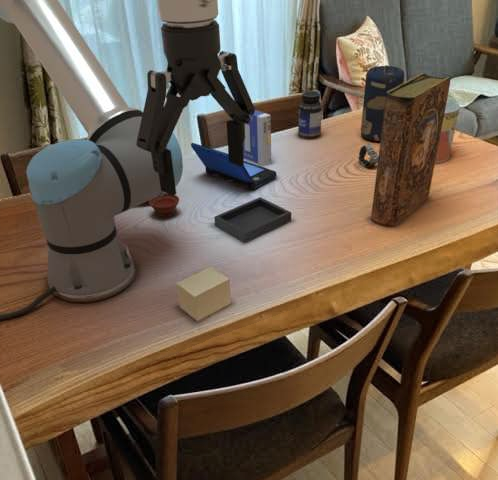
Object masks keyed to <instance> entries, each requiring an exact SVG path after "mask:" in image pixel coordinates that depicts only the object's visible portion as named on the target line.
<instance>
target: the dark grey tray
mask: <svg viewBox="0 0 498 480" xmlns="http://www.w3.org/2000/svg"><path fill="white" fill-rule="evenodd" d="M213 219H214V226H215V227H217V228H219V229H221V230H222V231H224V232H225V233H226V234H228V235H231V236H233V237H234V238H236V239H238V240H239V241H241V242H242V243H249V242H250V241H252V240H254V239H256V238H258V237H260V236H262V235H265V234H266V233H268V232H271V231H273V230H275V229H277V228H279V227H281V226H284V225H285V224H288V223H290V222H292V212H291V211H290V210H289V209H288V210H287V209H285V208H284V207H282V206H279V205H277V204H275V203H274V202H271V201H269V200H267V199H265V198H263V197H261V196H260V197H258V198H257V197H256V198H255V199H252V200H250V201H247V202H245V203H243V204H241V205H238V206H236V207H233V208H231V209H229V210H227V211H224V212H222V213H220V214H217V215H215V216H214V217H213Z"/></svg>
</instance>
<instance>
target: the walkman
mask: <svg viewBox="0 0 498 480" xmlns="http://www.w3.org/2000/svg"><path fill="white" fill-rule="evenodd" d="M249 116H250V121H249V123H247V124H246V123H245V141H244V142H243V157H244V159H246V160H248V161H252V162H254V163H257V164H259V165H260V166H265V165H269V164H270V163H272V129H271V128H272V126H271V125H272V124H271V123H272V122H271V118H272V117H271V114H269V113H267V112H263V111H259V110H256V109H255V112H254V114H253V115H249Z"/></svg>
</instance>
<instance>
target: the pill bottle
mask: <svg viewBox="0 0 498 480" xmlns="http://www.w3.org/2000/svg"><path fill="white" fill-rule="evenodd" d="M320 98H321V93H320V92H319V91H314V90H306V91H303V92H302V93H301V100H302V101H301V102H300V103H299V104H298V124H297V125H298V126H297V127H298V128H297V135H298V137H300V138H302V139H306V140H313V139H317V138H319V137H320V136H321V133H322V132H321V131H322V114H323V113H322V112H323V105H322V103H321V102H320V100H321V99H320Z"/></svg>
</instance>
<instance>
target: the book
mask: <svg viewBox="0 0 498 480" xmlns="http://www.w3.org/2000/svg"><path fill="white" fill-rule="evenodd" d="M451 79H452V77H450V76H447V77H435V76H431V75H427V74H426V73H425V72H422V73H420V74H418V75H416V76H414V77H412V78H410V79H408V80H406V81H404V83H403V84H401V85H399V86H397V87H395V88H393V89H391V90H389V91H387V92H386V99H385V107H384V116H383V124H382V132H381V140H380V141H379V149H378V156H379V157H378V162H377V164H376V165H377V166H376V172H375V173H376V174H375V182H374V190H373V197H372V206H371V207H372V208H371V216H370V220H371V222H373V223H374V224H375V225H376V224H377V225H379V226H382V227H387V228H393V227H394V228H395V227H396V226H397V225H399V224H400V223H401V222H402V221H403V220H404V219H406V217H408V216H409V215H410V214H411V213H412V212H414V211H415V210H416V209H417V208H419V207H420V206H421V205H423V203H424V202H425V201H426V200H427V199H428V197H429V195H430V190H431V185H432V180H433V176H434V172H435V171H434V170H435V165H436V163H435V160H436V155H437V150H438V145H439V139H440V134H441V129H442V124H443V118H444V113H445V108H446V103H447V100H448V97H449V93H450V92H449V91H450V88H451V87H450V86H451Z"/></svg>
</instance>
